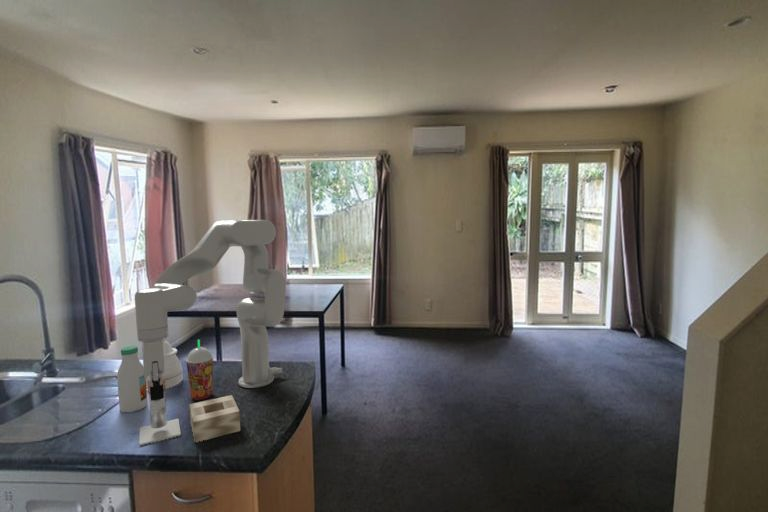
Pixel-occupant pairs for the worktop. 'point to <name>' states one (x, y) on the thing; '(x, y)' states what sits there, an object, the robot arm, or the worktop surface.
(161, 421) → the copper capped bottle
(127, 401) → the milk bottle
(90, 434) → the worktop surface
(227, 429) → the birch eye block
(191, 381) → the smoothie
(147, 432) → the white square plate
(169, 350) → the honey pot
